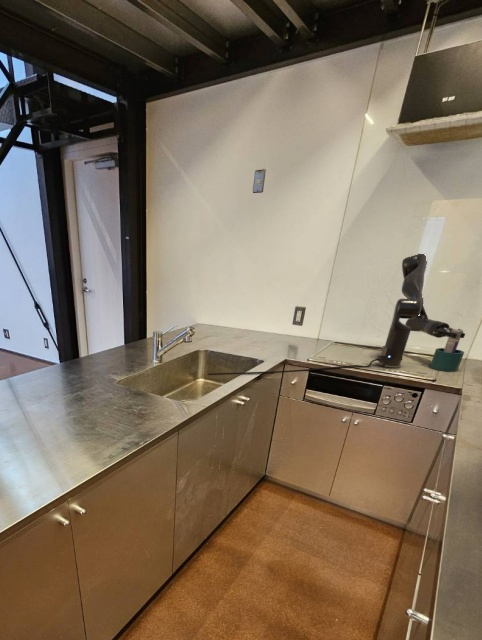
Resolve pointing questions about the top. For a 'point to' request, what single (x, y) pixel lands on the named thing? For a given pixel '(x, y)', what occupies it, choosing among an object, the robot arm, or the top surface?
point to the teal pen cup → (446, 360)
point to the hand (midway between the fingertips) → (459, 336)
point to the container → (453, 342)
